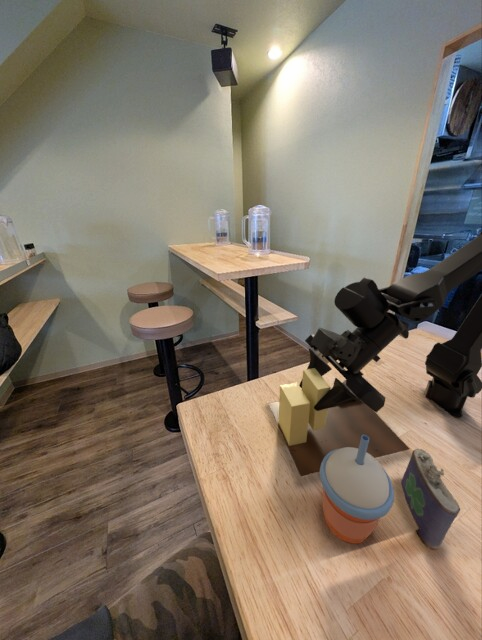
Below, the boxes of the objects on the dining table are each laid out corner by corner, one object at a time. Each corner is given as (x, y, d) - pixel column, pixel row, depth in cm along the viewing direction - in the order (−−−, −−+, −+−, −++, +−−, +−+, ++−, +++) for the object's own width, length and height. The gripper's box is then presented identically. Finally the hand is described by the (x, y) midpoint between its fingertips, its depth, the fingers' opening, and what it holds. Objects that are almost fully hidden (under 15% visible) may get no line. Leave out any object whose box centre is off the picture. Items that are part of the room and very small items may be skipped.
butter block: (294, 419, 54) (296, 382, 50) (306, 442, 49) (310, 403, 45) (278, 422, 54) (279, 385, 50) (289, 446, 48) (291, 406, 44)
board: (350, 392, 64) (351, 387, 63) (408, 454, 48) (410, 448, 47) (268, 408, 60) (268, 403, 59) (300, 481, 44) (300, 476, 43)
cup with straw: (343, 576, 32) (368, 488, 25) (301, 506, 40) (310, 423, 33) (393, 540, 36) (428, 454, 28) (345, 482, 43) (363, 402, 36)
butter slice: (310, 406, 54) (314, 367, 50) (325, 428, 49) (330, 387, 44) (299, 408, 53) (303, 369, 49) (313, 430, 48) (317, 389, 44)
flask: (443, 552, 34) (470, 504, 30) (420, 548, 35) (443, 501, 30) (412, 484, 43) (429, 439, 38) (393, 482, 43) (408, 437, 39)
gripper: (317, 297, 51) (264, 351, 53) (383, 341, 34) (303, 417, 37) (346, 327, 55) (297, 376, 58) (418, 378, 39) (344, 443, 41)
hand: (307, 397), depth 48 cm, fingers closed on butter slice, 6 cm apart
